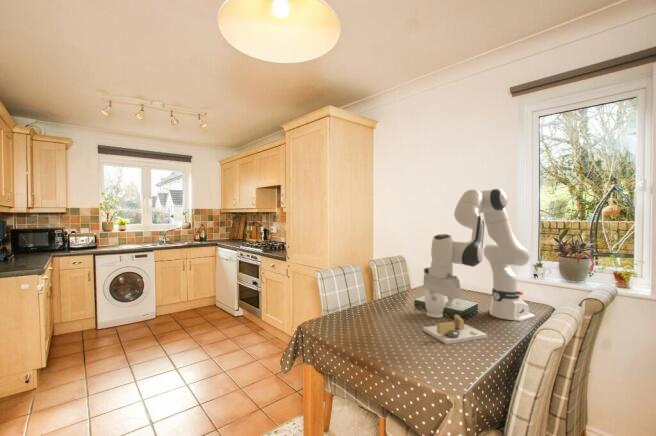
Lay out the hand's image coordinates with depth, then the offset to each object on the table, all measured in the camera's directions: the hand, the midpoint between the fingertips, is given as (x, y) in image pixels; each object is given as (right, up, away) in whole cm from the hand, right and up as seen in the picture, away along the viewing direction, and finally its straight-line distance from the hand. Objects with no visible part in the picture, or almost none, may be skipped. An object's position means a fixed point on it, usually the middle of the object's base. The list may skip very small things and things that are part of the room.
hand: (440, 303), depth 132 cm
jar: (+9, -16, +33) cm, 37 cm away
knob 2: (+12, -14, +10) cm, 21 cm away
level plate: (+9, -16, +7) cm, 20 cm away
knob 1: (+4, -14, +1) cm, 15 cm away
